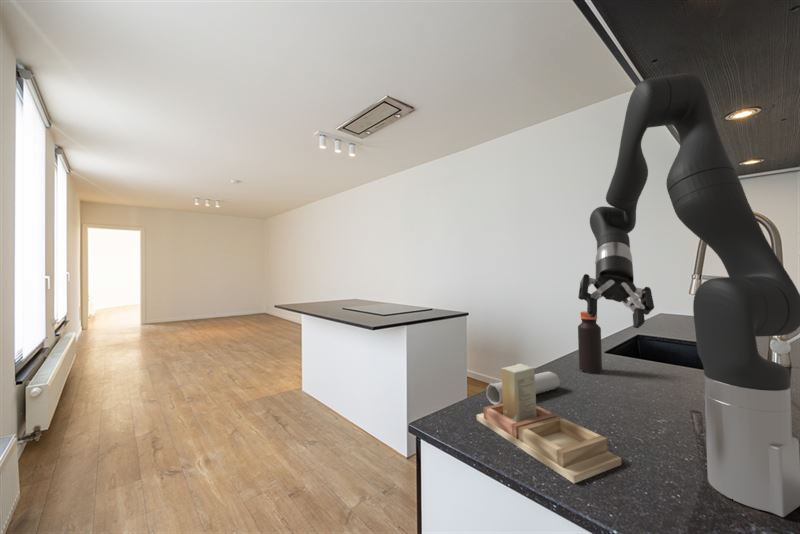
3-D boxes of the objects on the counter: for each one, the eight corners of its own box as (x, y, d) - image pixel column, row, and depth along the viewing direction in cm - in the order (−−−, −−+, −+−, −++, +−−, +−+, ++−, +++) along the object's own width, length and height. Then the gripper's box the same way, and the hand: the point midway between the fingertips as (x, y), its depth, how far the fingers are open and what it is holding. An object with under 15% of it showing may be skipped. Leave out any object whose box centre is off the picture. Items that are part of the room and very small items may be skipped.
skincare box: (522, 415, 77) (520, 362, 77) (537, 422, 73) (536, 367, 73) (501, 421, 74) (500, 367, 74) (516, 429, 70) (515, 371, 70)
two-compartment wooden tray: (621, 464, 59) (620, 443, 59) (574, 483, 54) (573, 460, 54) (516, 410, 83) (515, 395, 83) (476, 419, 78) (476, 404, 78)
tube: (545, 381, 101) (484, 396, 89) (550, 366, 100) (488, 379, 88) (560, 392, 97) (497, 410, 85) (566, 377, 95) (503, 392, 83)
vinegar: (583, 366, 117) (581, 310, 118) (605, 370, 112) (603, 312, 113) (576, 371, 113) (574, 312, 113) (598, 375, 108) (596, 314, 108)
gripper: (587, 248, 79) (585, 302, 70) (655, 261, 75) (663, 320, 66) (576, 268, 85) (573, 320, 76) (639, 281, 81) (644, 338, 72)
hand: (615, 320), depth 71 cm, fingers open, 8 cm apart
